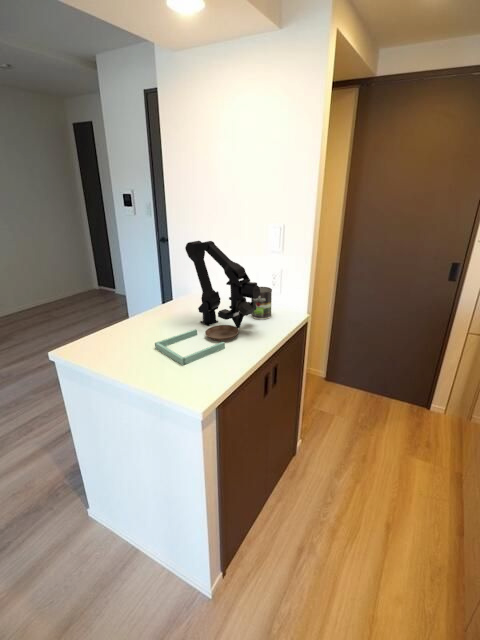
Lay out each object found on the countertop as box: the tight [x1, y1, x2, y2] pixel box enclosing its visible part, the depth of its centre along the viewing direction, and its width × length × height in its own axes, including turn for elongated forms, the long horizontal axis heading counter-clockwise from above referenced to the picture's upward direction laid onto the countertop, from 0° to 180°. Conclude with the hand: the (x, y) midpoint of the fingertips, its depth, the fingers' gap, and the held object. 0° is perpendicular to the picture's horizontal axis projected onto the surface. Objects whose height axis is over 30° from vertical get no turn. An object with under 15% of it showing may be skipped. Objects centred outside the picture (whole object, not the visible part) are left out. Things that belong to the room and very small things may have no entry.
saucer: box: [204, 324, 240, 342], centre depth 145 cm, size 15×15×3 cm
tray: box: [154, 328, 226, 366], centre depth 134 cm, size 20×20×2 cm
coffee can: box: [250, 286, 273, 321], centre depth 165 cm, size 10×10×14 cm
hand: (238, 328), depth 151 cm, fingers closed
